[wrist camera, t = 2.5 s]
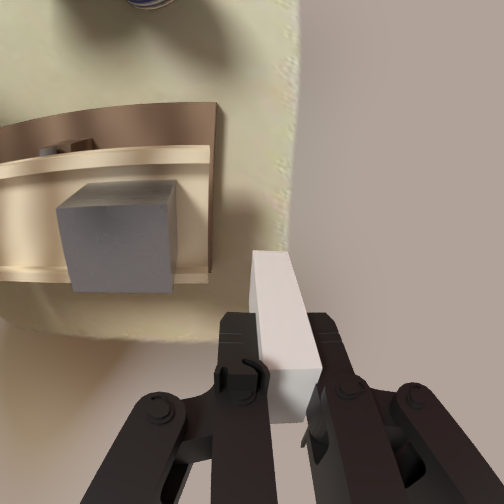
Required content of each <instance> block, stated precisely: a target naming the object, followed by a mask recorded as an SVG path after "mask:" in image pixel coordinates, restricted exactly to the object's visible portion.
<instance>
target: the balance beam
mask: <svg viewBox="0 0 504 504" xmlns="http://www.w3.org/2000/svg"><path fill="white" fill-rule="evenodd" d="M39 151H40V157H34V158H28V159H22V160H17V161H11V162H6V163H1V164H0V281H17V282H46V283H71V281H70V278H69V274H68V270H67V265H66V261H65V257H64V252H63V247H62V242H61V237H60V232H59V226H58V221H57V215H56V208H57V207H58V206H59V205H61V204H62V203H63V202H64V201H65V200H67V199H68V198H69V197H70V196H72V195H73V194H74V193H76V192H77V191H78V190H79V189H81V188H82V187H83V186H85V185H86V184H87V183H99V182H115V181H136V180H170V179H176V207H177V239H178V255H177V262H176V270H175V278H174V284H202V283H208V190H209V163H210V146H209V145H169V146H142V147H125V148H111V149H99V150H88V151H79V152H70V153H62V154H57V146H53V147H47V148H43V149H40V150H39Z"/></svg>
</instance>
